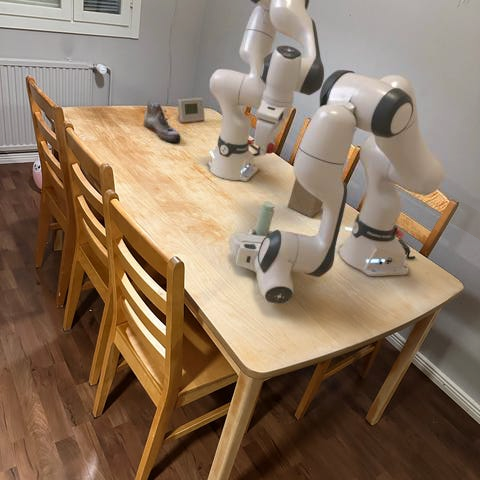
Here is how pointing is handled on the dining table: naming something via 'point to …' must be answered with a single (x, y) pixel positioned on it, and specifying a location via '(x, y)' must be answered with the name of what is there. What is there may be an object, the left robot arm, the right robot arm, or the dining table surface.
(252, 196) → the dining table surface
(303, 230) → the dining table surface
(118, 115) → the dining table surface
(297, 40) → the left robot arm
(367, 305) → the dining table surface
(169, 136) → the shoe
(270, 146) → the lid
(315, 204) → the wooden block
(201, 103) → the digital clock
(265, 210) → the green cylinder
